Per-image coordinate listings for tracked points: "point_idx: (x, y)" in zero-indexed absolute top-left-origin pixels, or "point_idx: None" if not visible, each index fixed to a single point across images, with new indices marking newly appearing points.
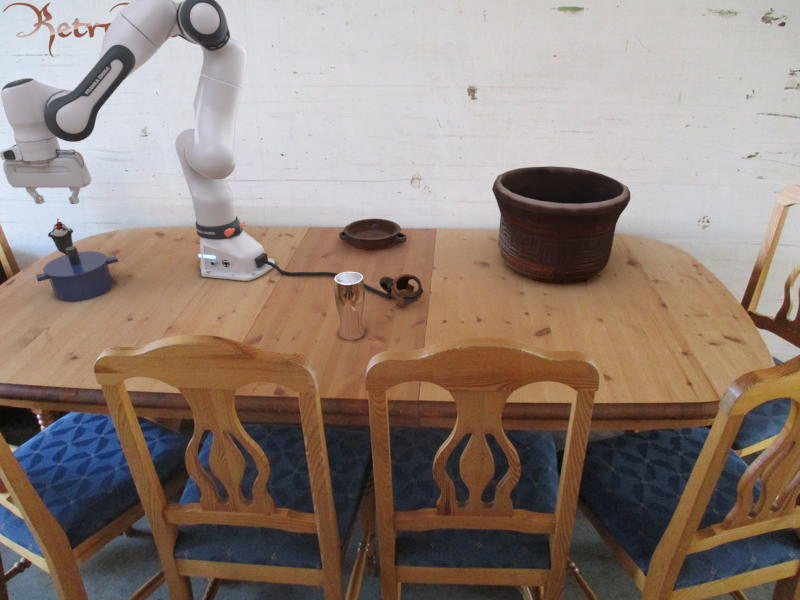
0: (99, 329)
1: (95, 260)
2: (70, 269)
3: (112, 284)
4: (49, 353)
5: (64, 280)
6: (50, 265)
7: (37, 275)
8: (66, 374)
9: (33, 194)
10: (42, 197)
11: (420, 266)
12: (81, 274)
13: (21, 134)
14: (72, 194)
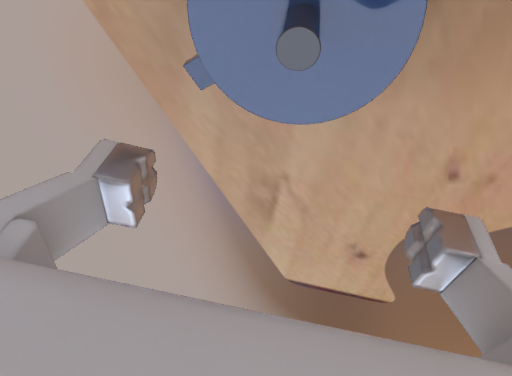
0: (389, 197)
1: (378, 5)
2: (299, 79)
3: None
4: (317, 240)
5: None
6: (210, 32)
7: (190, 70)
8: (358, 280)
9: (77, 238)
10: (138, 186)
11: None
12: (345, 113)
13: None
14: (469, 330)
